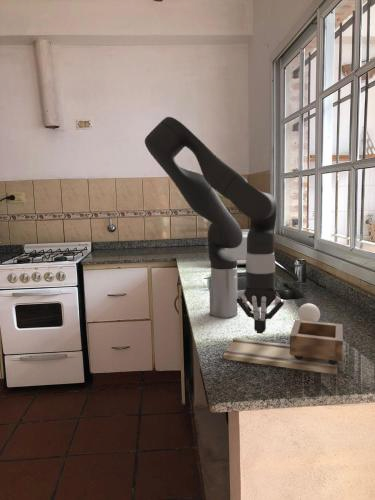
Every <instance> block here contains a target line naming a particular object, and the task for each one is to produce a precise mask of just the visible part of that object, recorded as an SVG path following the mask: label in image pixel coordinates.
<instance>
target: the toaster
mask: <svg viewBox="0 0 375 500" xmlns="http://www.w3.org/2000/svg"><path fill="white" fill-rule="evenodd" d="M241 230H242V235H243V238H242V242H241V244H240V245H239V246H238V247H236V248H225V250H226V252H227V253H228V254H229V255H231V256H232V257H234V258H236V260H237V265H246V257H247V235H248V232H249V230H250V228H247V229H244V228H243V229H242V228H241Z"/></svg>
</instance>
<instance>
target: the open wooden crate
mask: <svg viewBox="0 0 375 500" xmlns="http://www.w3.org/2000/svg"><path fill="white" fill-rule="evenodd" d="M343 330H344V329H343V324H342V323H333V322H324V321H323V322H320V321H318V322H313V321H303V320H300V319H294V322H293V325H292V328H291V331H290V333H289V334H290V335H289V345H290V355H294V356H295V358H296V359H297V360H301V359H302V358H303V356H304V357H312V358H320V359H328V360H329V363H330V364H336V363H337V361H338V362H343V345H344V344H343V343H344V342H343V341H344V340H343V338H344V337H343V335H344V334H343ZM337 364H338V363H337Z"/></svg>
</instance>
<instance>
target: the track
mask: <svg viewBox="0 0 375 500" xmlns="http://www.w3.org/2000/svg"><path fill="white" fill-rule="evenodd" d="M223 360H229V361H236V362H244V363H252V364H257V365H258V364H260V365H264V366H265V365H266V366H272V367H281V368H285V369H286V368H288V369H292V370H293V369H294V370H302V371H308V372H316V373H322V374H323V373H324V374H329V375H330V374H331V375H335V376H337V375H338V362H339V361H337V363H336V364H330V363H329V360H328V359H320V358H312V357H304V356H303V358H302V359H301V360H297V359H296V358H295V356H294V355H290V343H289V344H288V343H287V344H286V343H279V342H271V341H270V342H269V341H262V340H254V339H246V338H237V337H236V338H235V337H234V338H233V339H232V341H231V343H230V344H229V346H228V347H227V349H225V351H224V353H223Z"/></svg>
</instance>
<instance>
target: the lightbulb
mask: <svg viewBox="0 0 375 500" xmlns="http://www.w3.org/2000/svg"><path fill="white" fill-rule="evenodd" d="M297 315H298V320H303V321H313V322H319V320H320V317H321V312H320V308H319V307H317V306H316V305H315V304H313V303H303V304H302V305H301V306H300V307H299V309H298V311H297Z"/></svg>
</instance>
